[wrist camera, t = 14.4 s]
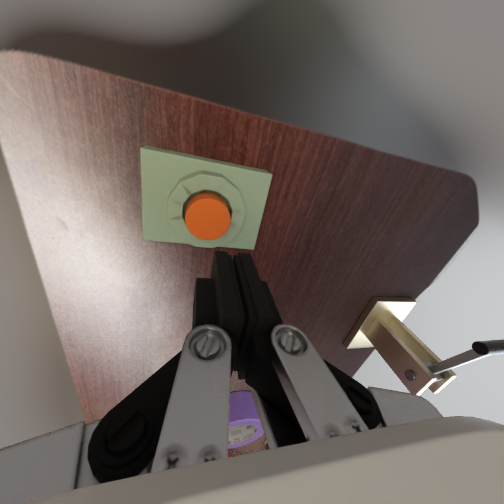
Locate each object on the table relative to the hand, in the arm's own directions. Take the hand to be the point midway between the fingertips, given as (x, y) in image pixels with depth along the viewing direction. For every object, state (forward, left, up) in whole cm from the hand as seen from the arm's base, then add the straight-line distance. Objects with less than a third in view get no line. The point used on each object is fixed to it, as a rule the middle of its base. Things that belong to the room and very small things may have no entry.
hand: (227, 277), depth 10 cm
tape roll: (+17, +41, -14) cm, 46 cm away
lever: (-19, +30, -3) cm, 36 cm away
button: (+1, 0, -10) cm, 10 cm away
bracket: (-16, +34, -13) cm, 40 cm away
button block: (+1, 0, -13) cm, 13 cm away
